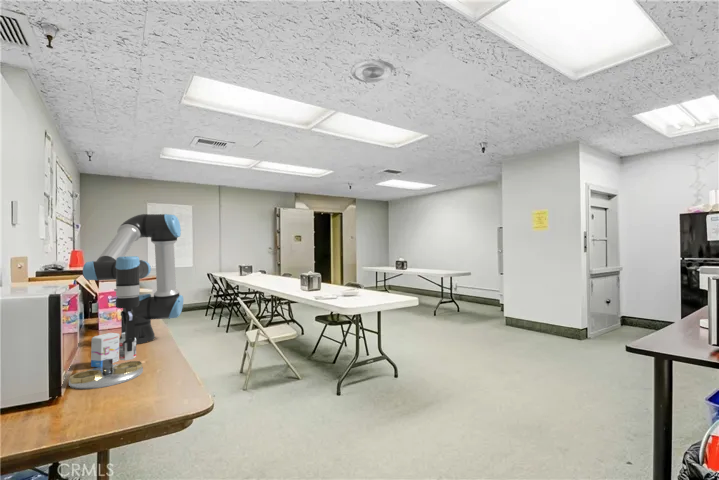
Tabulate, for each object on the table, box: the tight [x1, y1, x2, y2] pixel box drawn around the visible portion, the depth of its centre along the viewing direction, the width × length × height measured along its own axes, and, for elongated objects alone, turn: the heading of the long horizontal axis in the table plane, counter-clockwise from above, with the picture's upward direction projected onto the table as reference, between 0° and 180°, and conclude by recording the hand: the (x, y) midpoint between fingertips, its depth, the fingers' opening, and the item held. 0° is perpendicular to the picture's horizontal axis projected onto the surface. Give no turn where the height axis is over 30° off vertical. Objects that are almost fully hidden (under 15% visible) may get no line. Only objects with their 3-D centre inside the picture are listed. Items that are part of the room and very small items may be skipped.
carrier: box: [68, 359, 144, 390], centre depth 128 cm, size 22×22×6 cm
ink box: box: [90, 332, 120, 368], centre depth 142 cm, size 9×5×12 cm, turn 168°
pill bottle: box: [119, 332, 137, 361], centre depth 132 cm, size 5×5×10 cm
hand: (127, 357), depth 132 cm, fingers closed on pill bottle, 5 cm apart
